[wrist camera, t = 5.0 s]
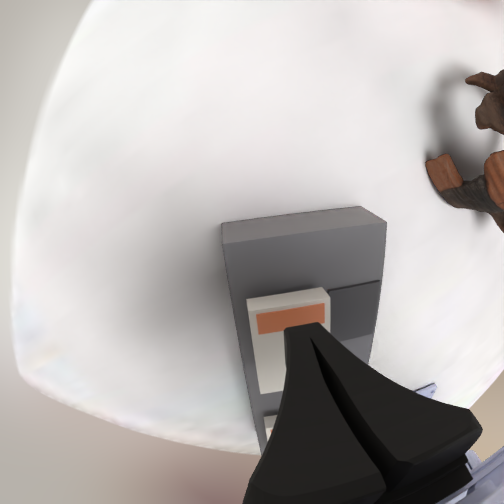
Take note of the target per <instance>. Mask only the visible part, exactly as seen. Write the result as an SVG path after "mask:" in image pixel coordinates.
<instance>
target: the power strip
mask: <svg viewBox="0 0 504 504" xmlns="http://www.w3.org/2000/svg"><path fill="white" fill-rule="evenodd" d="M386 230H387V222H386V221H384V220H383V219H381V218H380V217H378V216H376V215H375V214H373V213H371V212H370V211H368V210H366V209H365V208H363V207H361V206H359V207H349V208H340V209H331V210H322V211H313V212H304V213H296V214H288V215H280V216H272V217H264V218H257V219H249V220H242V221H235V222H227V223H222V246H223V252H224V258H225V264H226V270H227V277H228V283H229V289H230V294H231V300H232V306H233V312H234V318H235V323H236V329H237V334H238V340H239V345H240V351H241V356H242V361H243V367H244V372H245V377H246V382H247V387H248V393H249V398H250V403H251V408H252V413H253V417H254V422H255V427H256V432H257V437H258V441H259V446H260V451H261V455H262V454H263V452H264V450H265V447H266V445H267V442H268V441H267V435H266V429H265V423H264V417H267V416H273V415H277V414H278V410H279V407H280V403H281V398H282V394H283V391H278V392H272V393H266V394H260V388H259V382H258V376H257V369H256V362H255V356H254V349H253V343H252V336H251V329H250V322H249V315H248V308H247V301H246V299H250V298H257V297H264V296H270V295H277V294H283V293H289V292H295V291H301V290H307V289H313V288H319V287H322V288H323V289H324V290H325V291H326V293H327V294H328V295H329V296H330V333H331V334H332V335H333V336H334V337H335V338H336V339H337V340H338V341H339V342H340V343H341V344H343V345H344V346H345V347H346V348H347V349H348V350H350V351H351V352H352V353H353V354H354V355H356V356H357V357H358V358H359V359H361V360H362V361H363V362H365V363H366V364H367V365H368V362H369V357H370V352H371V347H372V342H373V337H374V331H375V326H376V320H377V313H378V307H379V300H380V293H381V285H382V276H383V267H384V257H385V245H386Z"/></svg>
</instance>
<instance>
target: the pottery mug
mask: <svg viewBox="0 0 504 504" xmlns="http://www.w3.org/2000/svg"><path fill="white" fill-rule="evenodd" d="M465 82H466V83H467V84H470V85H476V86H479V87H481V88H483V89H486V90H487V91H489V92H490V93H487V94H486V96H485V97H484V98H483V100H482V103H481V105H480V106H478V107H477V108H476V111H475V118H476V125H477V127H478V128H479V129H488V128H491V129H493V130H494V131H497V132H499V133H501V134H503V135H504V70H502V71H500V72H499V73H498V74H497V75H496V76H494V75H491V74H488V73H484V72H480V73H479V74H476V75H472V76H470V77H468V78H466V79H465ZM426 168H427V170H428V173H429V176H430V177H431V179H432V181H433V183H434V185H435V186H436V188H437V189H438V191H439V192H440V194H441V195H442V196H443V198H444V199H445V200H446V201H447V202H448V203H449V204H451V205H452V206H453V207H456V208H466V209H472V210H477V211H480V212H487V213H489V214H490V215H491V216H492V217H493V219H494V220H495V222H496V223H497V225H498V226H499V228H500V229H501V230H502V232H503V233H504V150H502V151H499V152H494V153H492V154H491V155H490V157H488V158H487V160H486V161H485V163H484V175H480V176H479V177H477V178H475V179H473V180H472V181H464V180H463V179H462V177H461V176H460V174H459V173H458V171H457V169H456V167H455V165H454V163H453V161H452V159H451V156H450V155H449V154H443V155H441V156H439V157H438V158H436V159H432V160H429V161H427V162H426Z"/></svg>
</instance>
